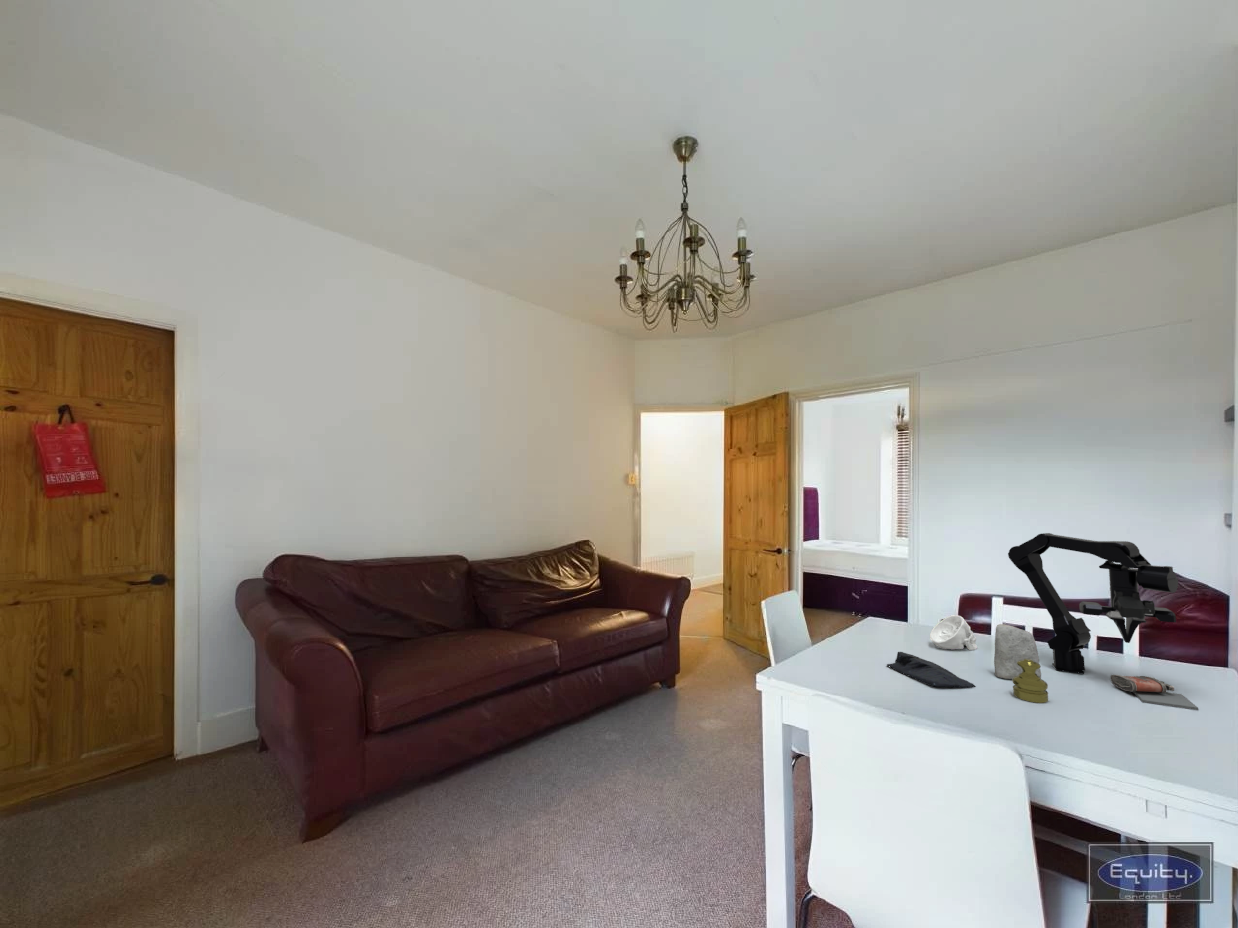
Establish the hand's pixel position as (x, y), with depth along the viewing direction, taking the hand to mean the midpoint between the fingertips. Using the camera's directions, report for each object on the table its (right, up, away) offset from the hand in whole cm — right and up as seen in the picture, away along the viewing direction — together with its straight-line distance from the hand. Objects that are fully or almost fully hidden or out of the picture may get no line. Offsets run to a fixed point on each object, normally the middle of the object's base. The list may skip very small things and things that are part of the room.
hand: (1127, 642), depth 144 cm
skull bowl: (-25, -15, +36) cm, 46 cm away
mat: (-1, -11, -10) cm, 15 cm away
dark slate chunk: (-50, -14, +10) cm, 53 cm away
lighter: (-6, -9, -5) cm, 12 cm away
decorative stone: (-26, -13, +6) cm, 30 cm away
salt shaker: (-33, -12, -8) cm, 36 cm away
